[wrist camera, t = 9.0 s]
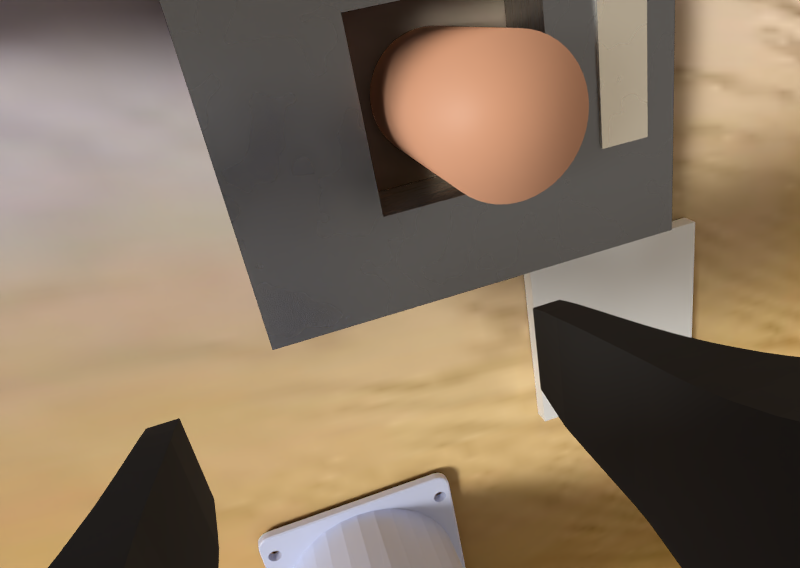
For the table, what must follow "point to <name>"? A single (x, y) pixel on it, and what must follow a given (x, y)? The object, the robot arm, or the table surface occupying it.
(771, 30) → the table surface
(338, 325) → the hole plate
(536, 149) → the peg
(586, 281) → the tile
